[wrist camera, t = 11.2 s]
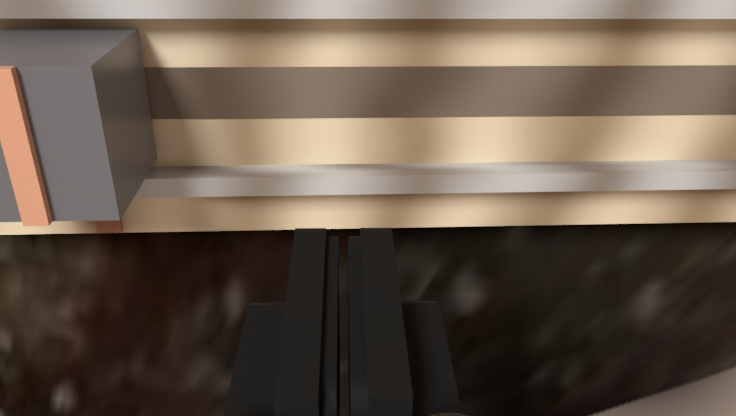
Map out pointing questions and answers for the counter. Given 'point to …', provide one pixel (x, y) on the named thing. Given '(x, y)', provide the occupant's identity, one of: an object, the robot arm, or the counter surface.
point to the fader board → (422, 112)
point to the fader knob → (72, 124)
